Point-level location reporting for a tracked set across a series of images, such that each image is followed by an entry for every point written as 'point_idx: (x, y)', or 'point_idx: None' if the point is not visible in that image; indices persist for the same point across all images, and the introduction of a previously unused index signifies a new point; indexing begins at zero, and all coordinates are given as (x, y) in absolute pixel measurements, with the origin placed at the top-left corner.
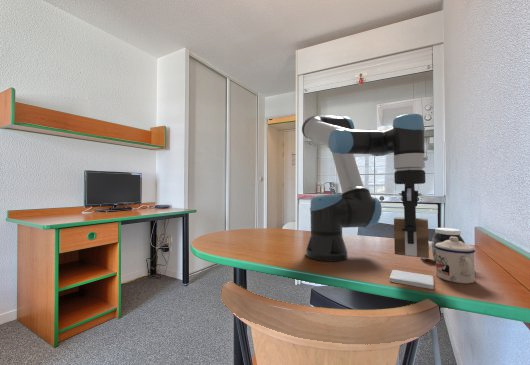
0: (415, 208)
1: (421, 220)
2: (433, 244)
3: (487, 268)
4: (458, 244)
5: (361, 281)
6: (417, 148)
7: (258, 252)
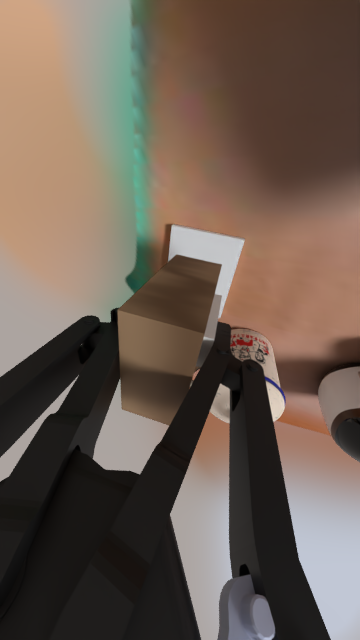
0: (229, 472)
1: (123, 395)
2: None
3: (318, 419)
4: (218, 409)
5: (144, 142)
6: None
7: None
